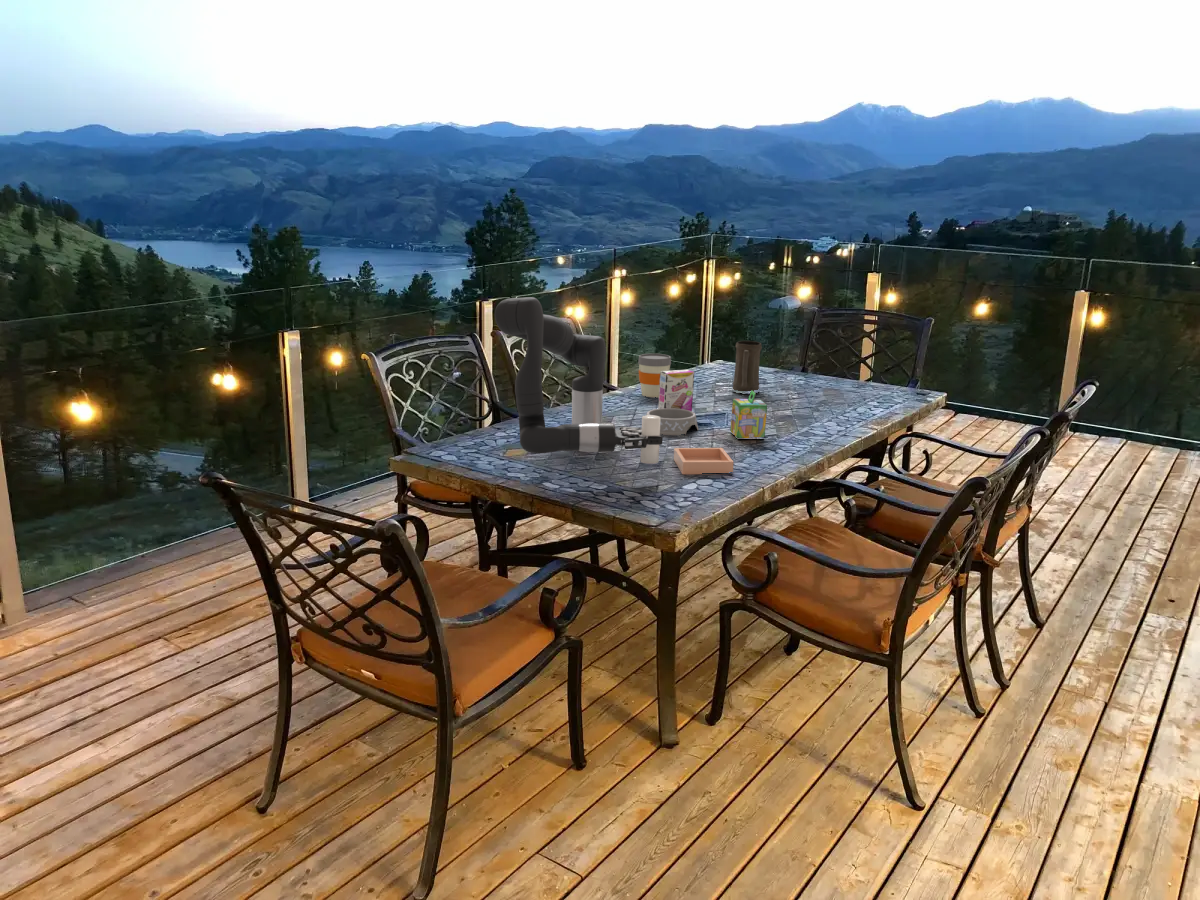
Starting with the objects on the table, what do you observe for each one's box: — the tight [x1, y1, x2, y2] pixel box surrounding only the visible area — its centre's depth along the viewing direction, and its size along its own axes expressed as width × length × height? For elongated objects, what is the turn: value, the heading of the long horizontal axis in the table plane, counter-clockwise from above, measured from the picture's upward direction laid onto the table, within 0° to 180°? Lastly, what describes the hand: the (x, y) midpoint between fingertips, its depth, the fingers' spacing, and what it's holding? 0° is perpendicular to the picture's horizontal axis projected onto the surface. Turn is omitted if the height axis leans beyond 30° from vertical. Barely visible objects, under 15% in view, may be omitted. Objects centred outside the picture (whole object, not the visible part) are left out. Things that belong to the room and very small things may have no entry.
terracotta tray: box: [673, 447, 734, 475], centre depth 248 cm, size 14×14×4 cm
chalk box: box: [729, 390, 768, 438], centre depth 279 cm, size 9×9×15 cm
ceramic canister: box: [640, 414, 661, 465], centre depth 232 cm, size 5×5×12 cm
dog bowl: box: [645, 408, 699, 436], centre depth 289 cm, size 17×18×5 cm
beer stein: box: [732, 340, 763, 391], centre depth 342 cm, size 15×11×20 cm
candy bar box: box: [657, 369, 695, 412], centre depth 301 cm, size 11×5×16 cm, turn 115°
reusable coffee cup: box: [637, 353, 672, 398], centre depth 336 cm, size 13×13×15 cm
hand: (660, 437), depth 232 cm, fingers closed on ceramic canister, 4 cm apart
